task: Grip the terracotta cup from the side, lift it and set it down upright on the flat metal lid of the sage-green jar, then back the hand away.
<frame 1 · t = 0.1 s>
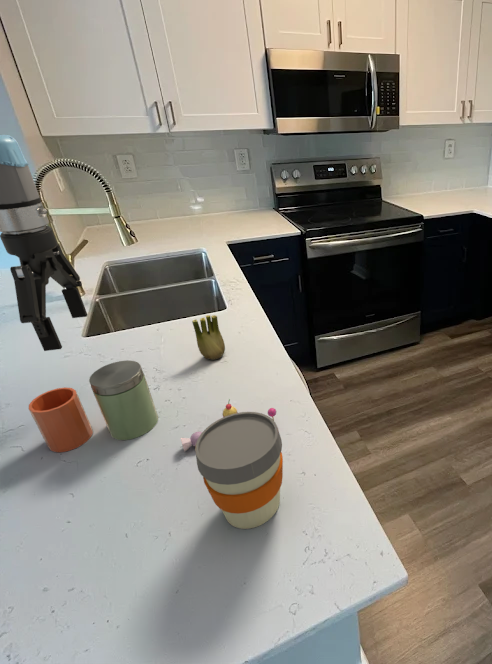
hand: (67, 331, 85), 19 cm above the counter, tool pointing down, fingers open, 13 cm apart
candy: (230, 432, 86), on the counter
jar: (134, 424, 88), on the counter
jar lid: (116, 375, 82), point 13 cm above the counter, screwed on, not yet turned
fennel bulb: (214, 357, 111), on the counter
cup: (71, 438, 84), on the counter
reusable coffee cup: (252, 505, 70), on the counter
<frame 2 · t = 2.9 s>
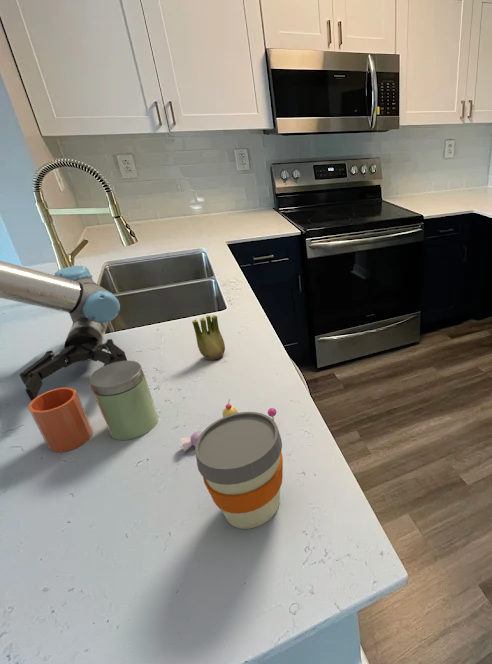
hand: (69, 386, 89), 6 cm above the counter, tool horizontal, fingers open, 13 cm apart
nothing on the counter moved.
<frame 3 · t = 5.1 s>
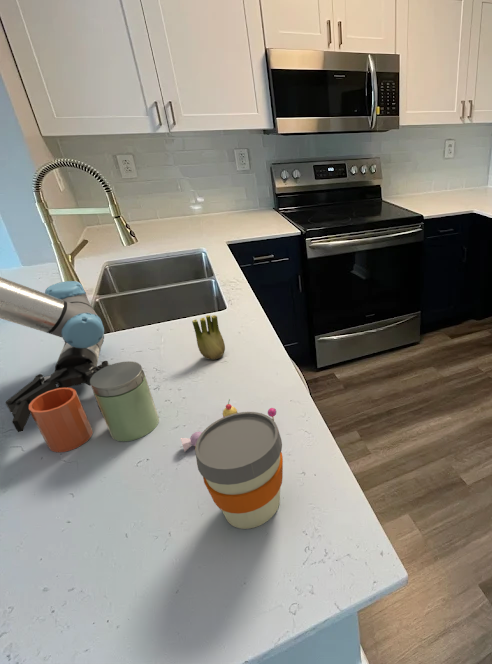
hand: (60, 416, 81), 6 cm above the counter, tool horizontal, fingers open, 13 cm apart
nothing on the counter moved.
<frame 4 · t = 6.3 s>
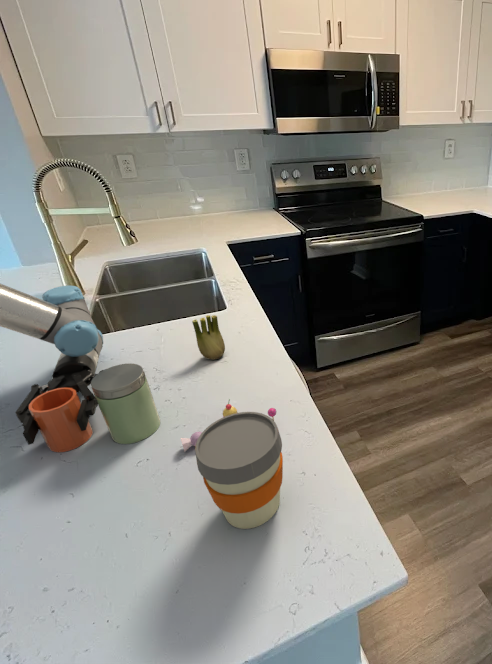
hand: (55, 431, 78), 6 cm above the counter, tool horizontal, fingers closed on cup, 8 cm apart
cup: (71, 438, 84), on the counter, touching gripper
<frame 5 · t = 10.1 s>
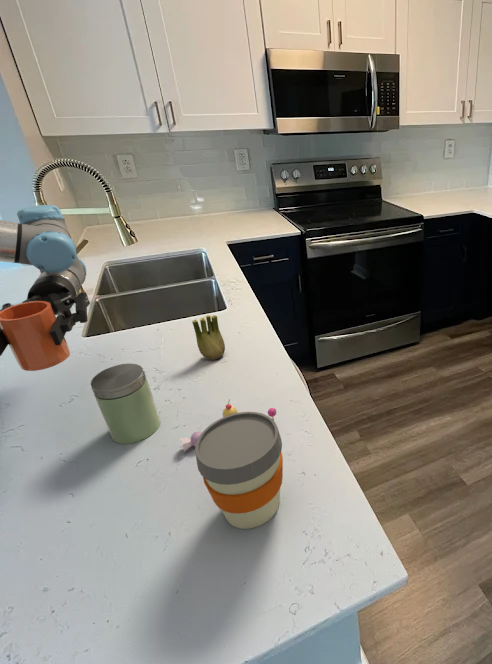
hand: (25, 343, 69), 25 cm above the counter, tool horizontal, fingers closed on cup, 8 cm apart
cup: (46, 359, 76), point 19 cm above the counter, touching gripper
when the fingers open (19 cm above the counter, at t = 13.7 s): cup stays where it is, resting on jar lid.
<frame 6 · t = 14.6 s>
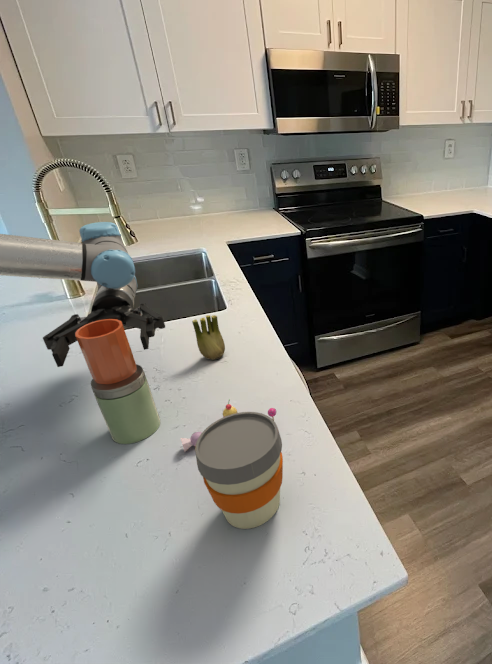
hand: (102, 351, 76), 20 cm above the counter, tool horizontal, fingers open, 13 cm apart
jar lid: (118, 378, 81), point 13 cm above the counter, screwed on, not yet turned, touching cup
cup: (115, 372, 82), point 13 cm above the counter, touching jar lid
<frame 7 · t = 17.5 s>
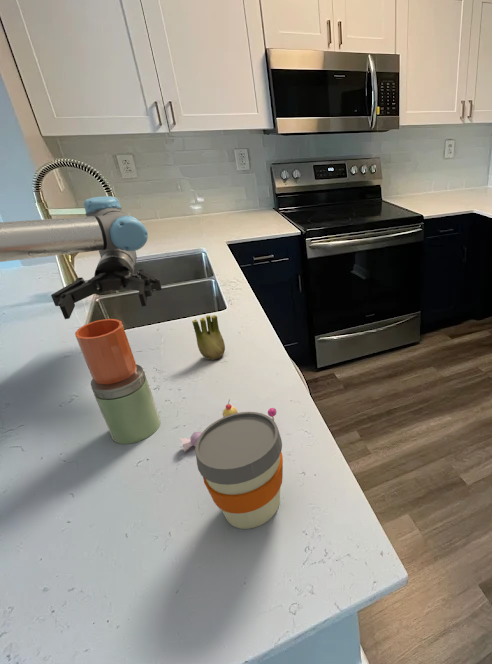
hand: (104, 306, 84), 23 cm above the counter, tool horizontal, fingers open, 13 cm apart
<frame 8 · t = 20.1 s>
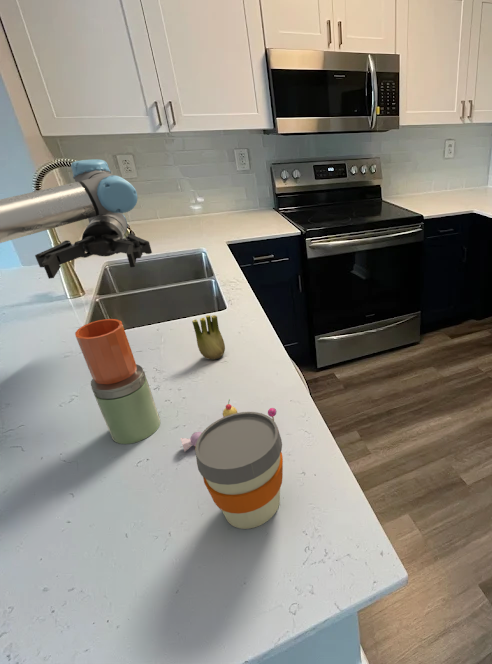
hand: (90, 266, 81), 32 cm above the counter, tool horizontal, fingers open, 13 cm apart
at the end: cup 1.5 cm off-centre on the jar, point 13.2 cm above the jar's base; cup tilted 0°; the gripper is holding nothing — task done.
